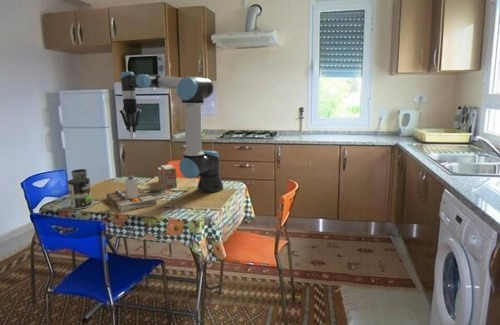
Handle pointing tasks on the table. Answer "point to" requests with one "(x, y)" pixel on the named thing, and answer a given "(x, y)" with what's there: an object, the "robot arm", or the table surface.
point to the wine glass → (79, 173)
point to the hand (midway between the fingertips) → (133, 137)
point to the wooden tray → (130, 200)
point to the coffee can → (80, 193)
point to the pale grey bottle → (131, 187)
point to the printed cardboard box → (167, 176)
